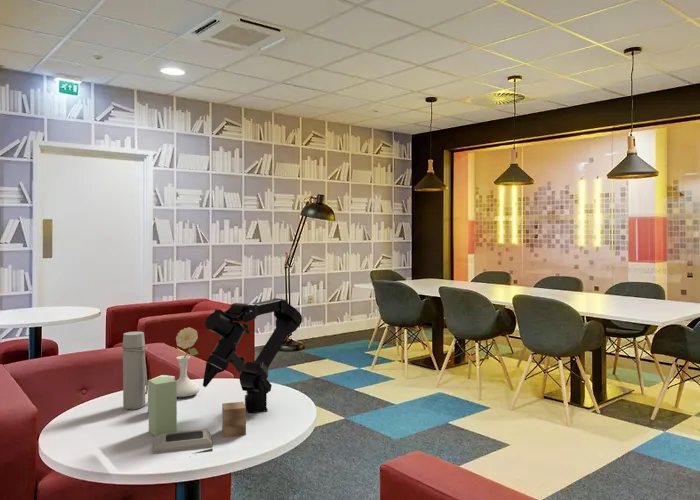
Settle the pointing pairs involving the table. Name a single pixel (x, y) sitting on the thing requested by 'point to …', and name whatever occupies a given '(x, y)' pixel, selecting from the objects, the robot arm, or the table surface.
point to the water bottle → (134, 370)
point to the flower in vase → (186, 362)
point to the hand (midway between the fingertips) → (204, 386)
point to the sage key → (162, 405)
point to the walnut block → (233, 419)
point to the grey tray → (183, 441)
